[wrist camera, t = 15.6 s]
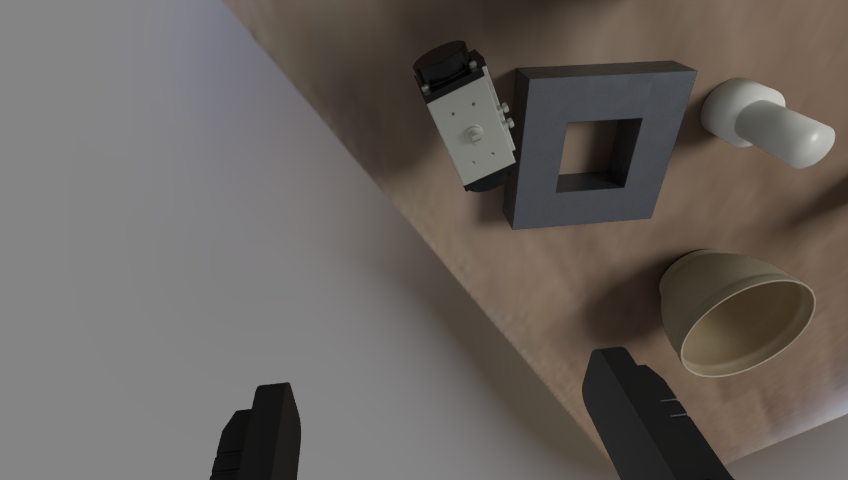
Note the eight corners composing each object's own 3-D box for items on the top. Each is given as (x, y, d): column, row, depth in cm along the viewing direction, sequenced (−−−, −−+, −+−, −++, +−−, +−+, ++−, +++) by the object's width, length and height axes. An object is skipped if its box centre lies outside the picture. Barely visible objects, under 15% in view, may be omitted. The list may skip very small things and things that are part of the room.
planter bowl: (631, 329, 67) (674, 390, 58) (638, 244, 58) (690, 301, 49) (737, 303, 67) (796, 360, 58) (761, 214, 58) (835, 265, 49)
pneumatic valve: (450, 154, 48) (474, 211, 38) (401, 47, 41) (416, 83, 31) (498, 131, 47) (536, 183, 37) (457, 18, 40) (490, 46, 30)
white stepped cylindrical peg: (712, 78, 46) (796, 115, 38) (766, 76, 47) (861, 112, 38) (692, 133, 50) (764, 179, 41) (742, 131, 51) (824, 176, 42)
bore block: (516, 68, 43) (529, 79, 40) (672, 60, 45) (697, 70, 42) (502, 211, 52) (512, 229, 49) (633, 201, 54) (651, 218, 51)
